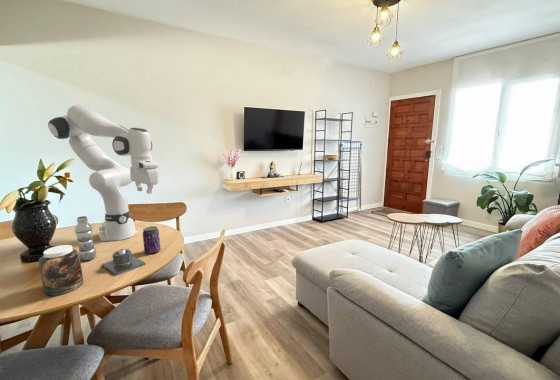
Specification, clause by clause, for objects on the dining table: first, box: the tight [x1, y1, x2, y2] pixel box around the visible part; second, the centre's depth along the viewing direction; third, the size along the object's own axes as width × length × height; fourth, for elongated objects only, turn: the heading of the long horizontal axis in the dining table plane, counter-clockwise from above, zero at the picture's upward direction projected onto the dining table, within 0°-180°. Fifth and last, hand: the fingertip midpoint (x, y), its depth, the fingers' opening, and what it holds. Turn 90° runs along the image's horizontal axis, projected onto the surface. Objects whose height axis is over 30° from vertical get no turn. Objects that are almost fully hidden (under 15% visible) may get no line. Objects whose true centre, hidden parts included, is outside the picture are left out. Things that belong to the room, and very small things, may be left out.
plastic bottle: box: [74, 215, 97, 262], centre depth 120 cm, size 6×7×20 cm
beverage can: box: [142, 225, 161, 255], centre depth 129 cm, size 7×7×12 cm
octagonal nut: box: [112, 249, 133, 265], centre depth 115 cm, size 6×6×4 cm
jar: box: [38, 244, 84, 297], centre depth 98 cm, size 12×12×15 cm
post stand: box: [101, 248, 146, 276], centre depth 115 cm, size 14×12×7 cm
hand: (144, 192), depth 127 cm, fingers open, 8 cm apart
